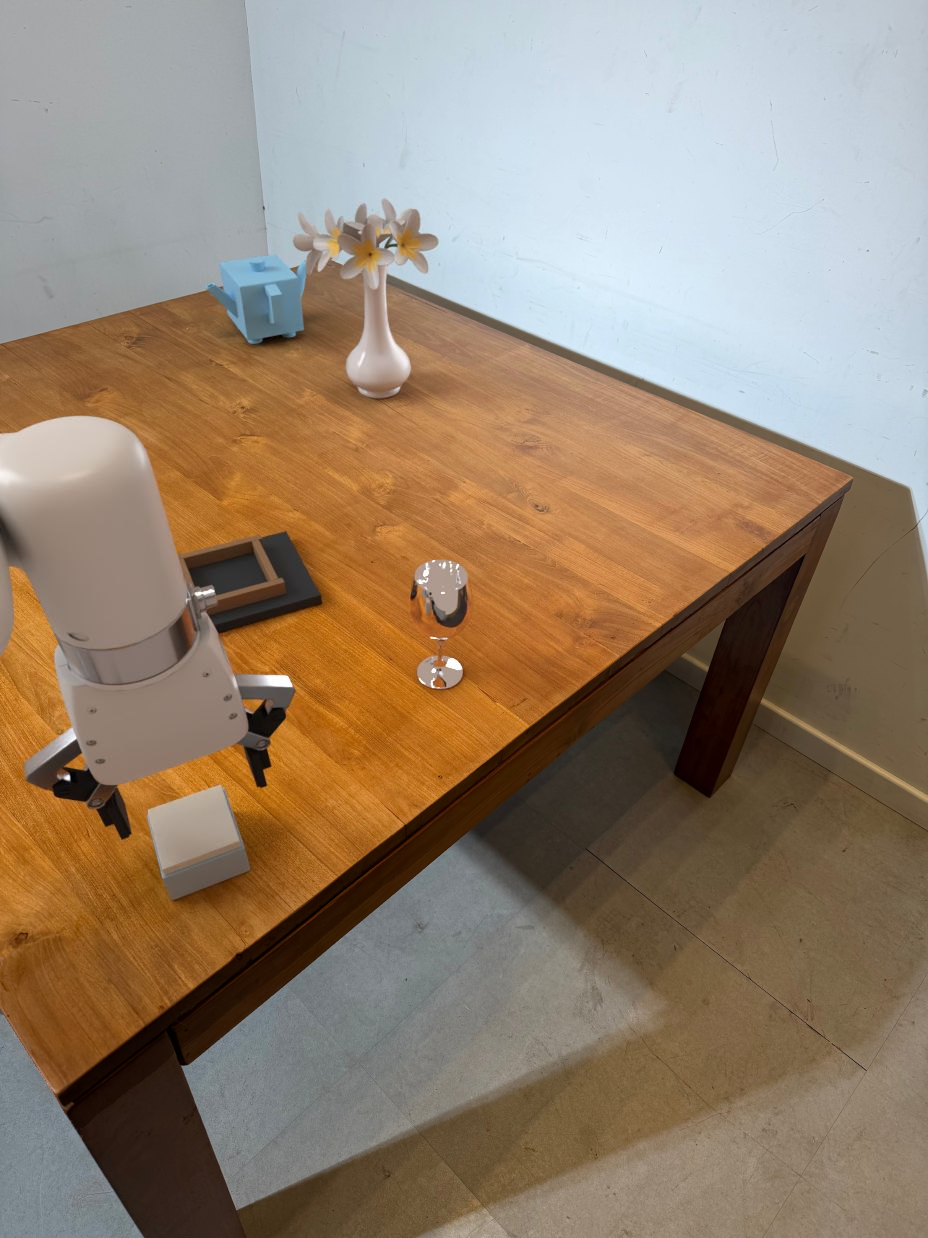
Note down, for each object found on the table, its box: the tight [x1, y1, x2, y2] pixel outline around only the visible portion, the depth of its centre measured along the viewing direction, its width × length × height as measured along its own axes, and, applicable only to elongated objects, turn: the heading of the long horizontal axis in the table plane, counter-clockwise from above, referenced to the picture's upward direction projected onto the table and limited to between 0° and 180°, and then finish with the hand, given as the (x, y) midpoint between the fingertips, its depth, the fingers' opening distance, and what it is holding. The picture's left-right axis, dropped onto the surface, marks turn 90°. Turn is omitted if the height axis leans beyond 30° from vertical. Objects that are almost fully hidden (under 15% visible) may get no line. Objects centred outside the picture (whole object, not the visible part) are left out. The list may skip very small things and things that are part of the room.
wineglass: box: [407, 559, 474, 690], centre depth 76 cm, size 6×6×12 cm
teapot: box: [204, 254, 308, 345], centre depth 130 cm, size 16×18×11 cm
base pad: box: [177, 530, 323, 634], centre depth 87 cm, size 16×12×3 cm
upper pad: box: [146, 784, 252, 901], centre depth 64 cm, size 6×6×4 cm
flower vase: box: [292, 197, 440, 400], centre depth 112 cm, size 13×18×25 cm
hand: (192, 797), depth 60 cm, fingers open, 9 cm apart
